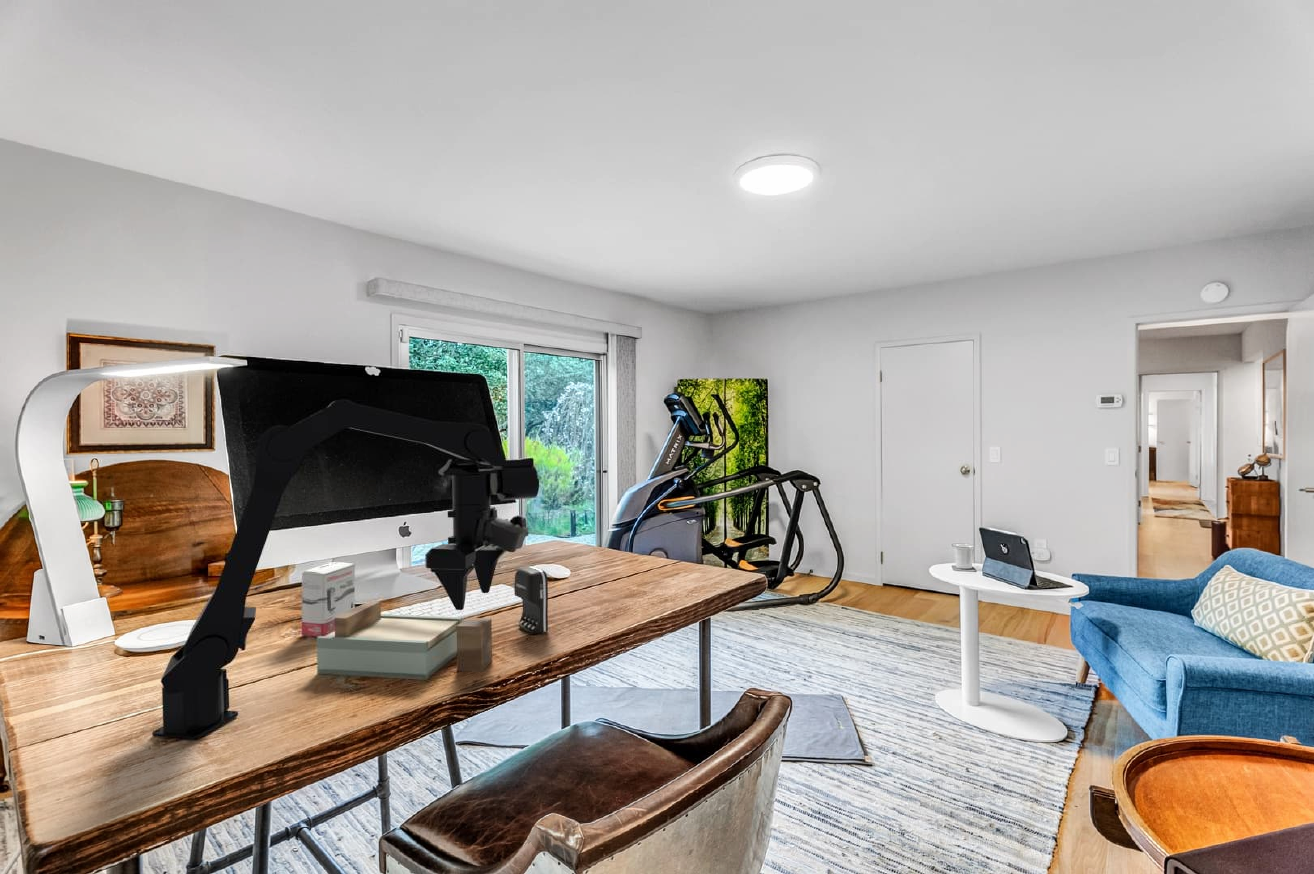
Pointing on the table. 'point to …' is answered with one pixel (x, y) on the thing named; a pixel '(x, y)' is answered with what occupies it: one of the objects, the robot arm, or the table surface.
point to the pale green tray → (386, 654)
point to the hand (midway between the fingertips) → (473, 600)
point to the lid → (388, 626)
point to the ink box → (326, 596)
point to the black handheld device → (532, 599)
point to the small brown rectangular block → (474, 644)
